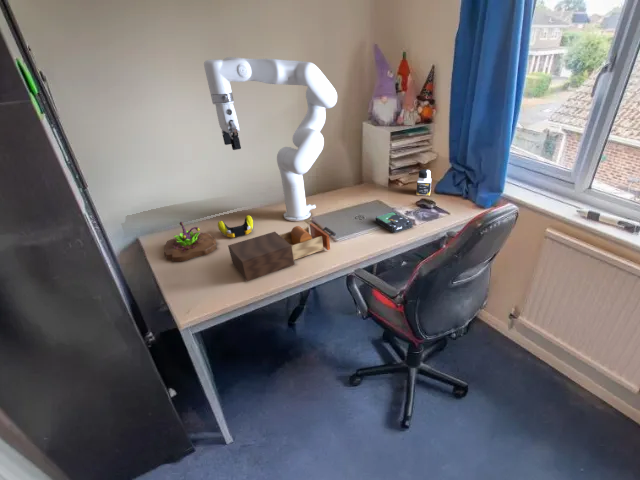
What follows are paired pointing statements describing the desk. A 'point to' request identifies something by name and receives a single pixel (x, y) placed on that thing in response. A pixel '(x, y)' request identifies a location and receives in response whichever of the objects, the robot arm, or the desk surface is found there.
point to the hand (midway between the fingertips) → (232, 146)
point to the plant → (189, 245)
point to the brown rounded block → (299, 235)
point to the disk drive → (393, 222)
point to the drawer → (310, 241)
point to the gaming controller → (236, 228)
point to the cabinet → (261, 255)
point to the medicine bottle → (424, 182)
